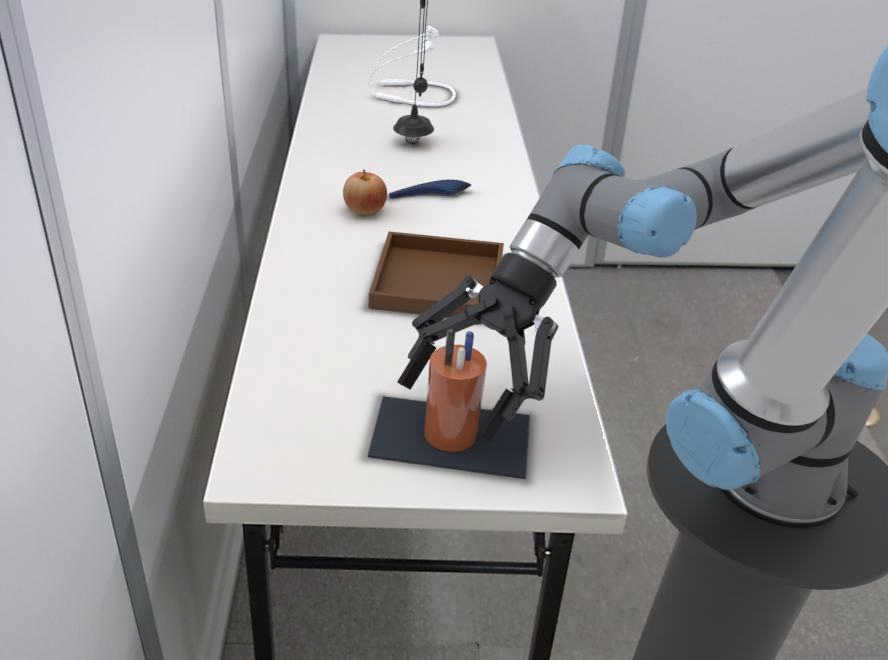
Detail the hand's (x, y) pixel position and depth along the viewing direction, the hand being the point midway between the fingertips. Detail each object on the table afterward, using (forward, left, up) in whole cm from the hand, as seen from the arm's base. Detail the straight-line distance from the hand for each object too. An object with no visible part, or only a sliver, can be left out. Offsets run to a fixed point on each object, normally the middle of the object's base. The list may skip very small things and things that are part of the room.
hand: (442, 411), depth 113 cm
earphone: (+20, -117, -6) cm, 119 cm away
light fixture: (+16, -90, -6) cm, 91 cm away
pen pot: (-1, -2, -5) cm, 6 cm away
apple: (+21, -60, -6) cm, 64 cm away
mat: (-1, -2, -6) cm, 6 cm away
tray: (+5, -39, -6) cm, 40 cm away
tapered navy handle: (+10, -69, -6) cm, 70 cm away
